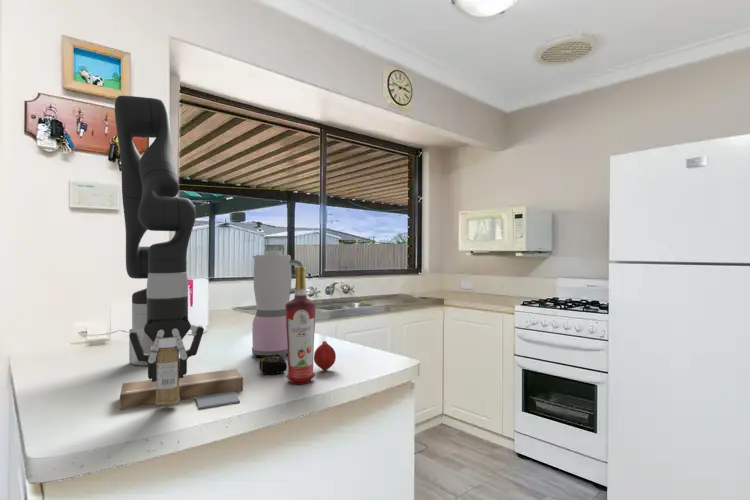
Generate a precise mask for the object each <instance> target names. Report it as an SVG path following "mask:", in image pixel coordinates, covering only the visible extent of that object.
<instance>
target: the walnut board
mask: <svg viewBox="0 0 750 500" xmlns="http://www.w3.org/2000/svg"><path fill="white" fill-rule="evenodd" d="M243 381H244V379H243V376H242V374H241V373H240V372H239V370H238V369H237V368H231V369H223V370H215V371H208V372H200V373H194V374H193V373H192V374H186V375H183V378H180V384H179V397H180V400H179V401H183V400H189V399H196V397H197V396H203V395H210V394H216V393H223V392H229V391H234V392H235V393H236V392H241V391H244V389H243V388H244V387H243V386H244V385H243V384H244V382H243ZM155 401H156V381H155V382H152V379H147V380H139V381H131V382H125V383H122V385H121V389H120V394H119V410H126V409H131V408H133V409H134V408H140V407H145V406H150V405H157V404H156V403H155Z"/></svg>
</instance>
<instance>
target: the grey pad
mask: <svg viewBox="0 0 750 500" xmlns="http://www.w3.org/2000/svg"><path fill="white" fill-rule="evenodd" d="M195 400H196V404H197V408H198V410H203V409H209V408H213V407H214V408H215V407H221V406H227V405H233V404H240V403H241V399H240V398H239V397H238V395H237V393H236V392H234V391H229V392H223V393H216V394H210V395H203V396H197V397H196V398H195Z"/></svg>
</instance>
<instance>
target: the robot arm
mask: <svg viewBox="0 0 750 500" xmlns="http://www.w3.org/2000/svg"><path fill="white" fill-rule="evenodd" d="M167 108H168V107H167V105H166V104H165V102H164V101H163V100H162V99H159V98H153V97H145V96H144V97H143V96H133V95H118V96H117V97H116V99H115V101H114V117H115V126H116V135H117V141H118V148H119V157H120V167H121V174H120V175H121V196H122V199H121V200H122V208H123V215H124V216H123V218H124V227H125V268H126V269H125V270H126V272H127V276H128V277H129V278H130V279H137V280H141V279H146V288H144V289H141V290H137V291H135V292H133V293H132V296H131V329H129V332H128V334H129V335H128V336H129V337H128V338H129V340H128V341H129V343H128V345H129V348H128V352H129V353H128V355H129V358H128V360H129V361H128V362H129V364H130V363H131V364H132V365H135V366H147V378H148V380H152V382H155V381H156V356H157V353H158V350H159V342H157V341H159V340H160V339H162V338H167V337H174V338H176V345H177V348H178V351H179V378H183V376H184V375H187V374H188V359H189V358H190V357H195V356H196V355H197V353H198V351H199V347H200V344H201V340H202V338H203V334H204V331H205V328H204V327H203V326H202V325H201V324H200V325H195V324H191V322H190V320H189V280H188V274H187V269H188V268H187V265H188V263H187V257H188V256H187V255H188V254H187V253H188V247H189V242H190V238H191V235H192V231H193V228H194V225H195V222H196V219H197V218H196V217H197V210H196V207H195V205H194V203H193V201H192V200H190V199H189V198H187V197H179V196H178V194H179V192H180V183H179V180H178V179H179V177H178V176H177V171H176V168H175V164H174V156H173V144H172V142H173V141H172V132H171V123H170V116H169V112H168V111H169V110H168V109H167ZM134 138H151V139H154V138H155V139H154V140H153V141H152V143H151V144H150V145H149V146H148V147H147V148H146V149H145V151H144V152H143V153H142V155H141V154H140V152H139V151H138V148H136V146H135V143H134ZM147 231H153V232H175V233H174V235H173V237H172V238H171V239H170V240H168V241H163V242H158V243H154V244H151V245H150V246H140V243H141V240H142V238H143V237H144V235H145V234H146V233H147ZM189 331H191V335H192V337H193V339H192V342H191V345H190V348H188V349H187V350H186V348H185V345H184V342H183V339H184V338H185V336H187V333H189ZM177 339H178V340H177ZM179 343H180V344H179ZM156 345H157V346H156Z"/></svg>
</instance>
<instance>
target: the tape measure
mask: <svg viewBox="0 0 750 500" xmlns="http://www.w3.org/2000/svg"><path fill="white" fill-rule="evenodd" d="M258 367H259V370H260V372H261V373H262V374H266V375H274V374H279V373H284V372H286V371H287V370H288V363H287V362H286V360H285V358H283V357H282V356H280V357H279V356H274V355H270V356H265V357H262V358H261V359H260V360H259V365H258Z"/></svg>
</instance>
